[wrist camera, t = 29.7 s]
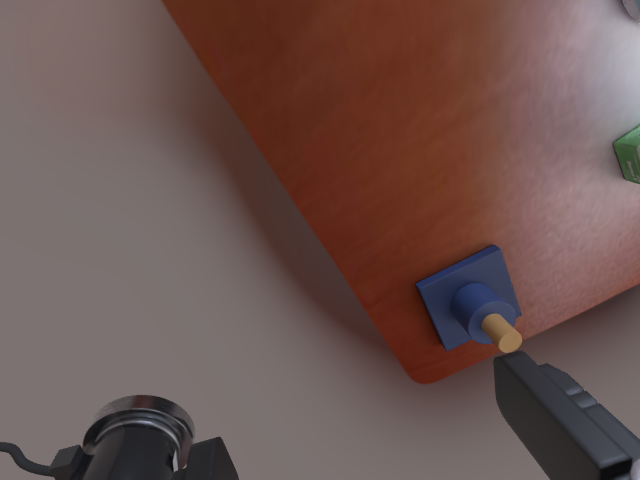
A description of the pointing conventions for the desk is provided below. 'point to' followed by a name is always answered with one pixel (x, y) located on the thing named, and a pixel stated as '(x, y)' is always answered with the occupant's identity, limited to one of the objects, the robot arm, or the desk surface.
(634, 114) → the desk surface
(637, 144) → the ink box
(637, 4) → the pill bottle
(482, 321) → the stand
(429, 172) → the desk surface
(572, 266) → the desk surface
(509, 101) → the desk surface
